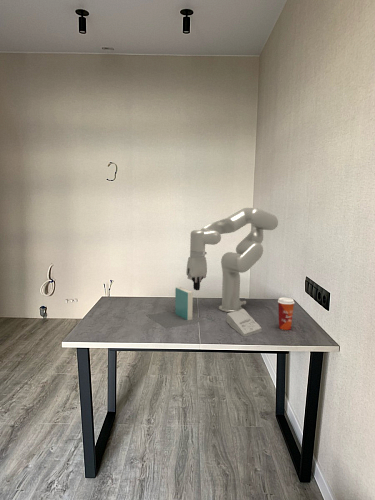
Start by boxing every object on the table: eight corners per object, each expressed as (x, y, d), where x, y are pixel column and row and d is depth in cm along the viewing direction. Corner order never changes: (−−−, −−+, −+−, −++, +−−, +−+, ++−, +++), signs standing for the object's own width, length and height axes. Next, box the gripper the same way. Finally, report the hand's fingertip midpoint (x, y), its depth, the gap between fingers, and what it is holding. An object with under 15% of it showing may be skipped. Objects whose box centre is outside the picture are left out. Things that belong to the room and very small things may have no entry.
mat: (182, 310, 204) (182, 309, 204) (205, 321, 186) (205, 320, 186) (146, 316, 193) (146, 315, 193) (165, 329, 174) (165, 328, 174)
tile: (180, 313, 198) (180, 287, 196) (192, 319, 188) (192, 292, 186) (175, 313, 196) (175, 287, 194) (187, 320, 186) (187, 292, 184)
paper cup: (284, 331, 173) (285, 302, 171) (273, 326, 179) (274, 298, 178) (297, 329, 176) (298, 300, 174) (285, 324, 183) (287, 296, 181)
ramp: (263, 338, 165) (264, 326, 165) (227, 337, 167) (227, 325, 166) (256, 318, 193) (257, 308, 192) (225, 317, 194) (226, 307, 194)
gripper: (205, 252, 199) (204, 286, 201) (181, 254, 191) (180, 289, 193) (213, 254, 192) (212, 289, 195) (188, 256, 185) (187, 292, 187)
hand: (196, 289), depth 194 cm, fingers closed
